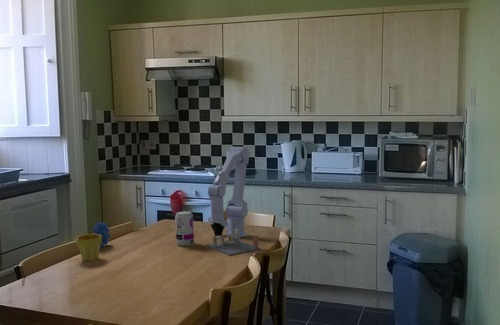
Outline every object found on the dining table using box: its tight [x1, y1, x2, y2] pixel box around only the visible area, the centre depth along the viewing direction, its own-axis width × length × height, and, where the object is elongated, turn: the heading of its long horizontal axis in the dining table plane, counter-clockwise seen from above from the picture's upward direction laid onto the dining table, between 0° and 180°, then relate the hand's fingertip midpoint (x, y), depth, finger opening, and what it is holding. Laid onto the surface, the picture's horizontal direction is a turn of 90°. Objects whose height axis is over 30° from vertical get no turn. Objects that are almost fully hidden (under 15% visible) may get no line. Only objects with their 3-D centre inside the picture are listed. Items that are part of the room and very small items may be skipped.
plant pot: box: [75, 233, 102, 262], centre depth 224 cm, size 10×10×10 cm
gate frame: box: [205, 229, 261, 256], centre depth 235 cm, size 21×16×7 cm
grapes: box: [92, 221, 111, 248], centre depth 243 cm, size 12×7×12 cm, turn 160°
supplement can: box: [174, 210, 195, 247], centre depth 243 cm, size 8×8×15 cm
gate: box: [212, 233, 236, 247], centre depth 236 cm, size 11×1×4 cm, turn 124°
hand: (218, 239), depth 241 cm, fingers closed
